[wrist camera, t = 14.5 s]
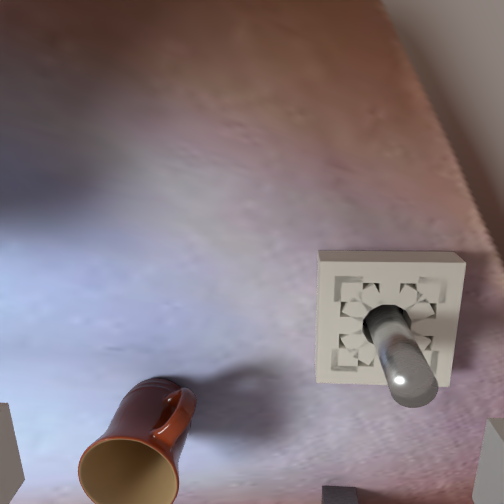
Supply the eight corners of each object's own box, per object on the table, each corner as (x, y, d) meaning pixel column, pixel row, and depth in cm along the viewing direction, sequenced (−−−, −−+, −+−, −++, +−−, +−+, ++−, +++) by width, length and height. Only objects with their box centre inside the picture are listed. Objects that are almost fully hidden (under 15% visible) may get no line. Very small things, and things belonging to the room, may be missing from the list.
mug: (168, 450, 49) (138, 535, 40) (105, 403, 48) (58, 479, 38) (238, 383, 46) (224, 458, 36) (172, 331, 45) (139, 393, 35)
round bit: (362, 326, 43) (388, 407, 31) (364, 296, 42) (392, 367, 30) (396, 327, 43) (435, 408, 31) (399, 296, 42) (440, 368, 30)
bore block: (314, 365, 45) (316, 382, 42) (318, 250, 41) (320, 261, 38) (438, 368, 44) (449, 386, 41) (453, 251, 40) (466, 262, 37)
